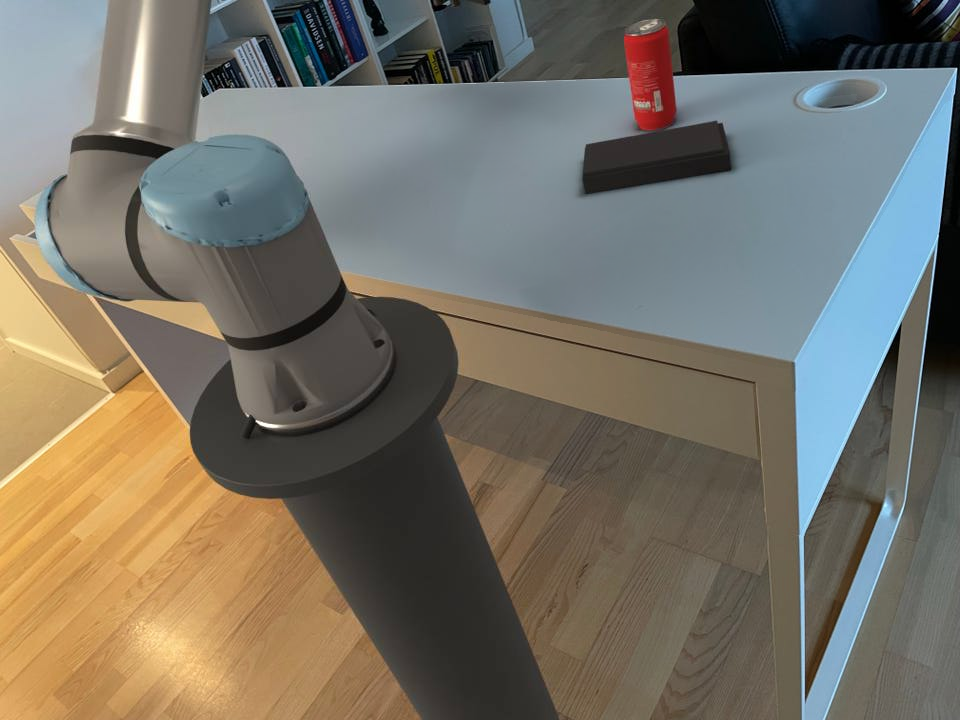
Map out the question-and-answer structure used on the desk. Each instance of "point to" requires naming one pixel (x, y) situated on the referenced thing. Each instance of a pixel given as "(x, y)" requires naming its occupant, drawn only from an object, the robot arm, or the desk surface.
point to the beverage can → (650, 74)
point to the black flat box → (655, 157)
